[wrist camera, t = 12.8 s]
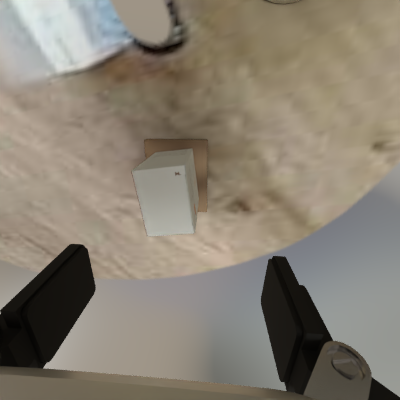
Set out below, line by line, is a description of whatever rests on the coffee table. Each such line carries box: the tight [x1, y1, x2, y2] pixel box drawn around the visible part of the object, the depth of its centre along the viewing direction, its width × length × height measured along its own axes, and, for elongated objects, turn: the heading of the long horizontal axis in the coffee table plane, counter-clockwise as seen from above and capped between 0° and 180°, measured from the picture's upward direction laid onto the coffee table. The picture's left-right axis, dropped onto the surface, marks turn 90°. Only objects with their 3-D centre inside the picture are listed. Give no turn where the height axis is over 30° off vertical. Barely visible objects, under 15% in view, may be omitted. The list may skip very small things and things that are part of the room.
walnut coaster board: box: [144, 139, 208, 212], centre depth 33 cm, size 11×9×1 cm
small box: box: [131, 148, 199, 237], centre depth 27 cm, size 8×6×10 cm
